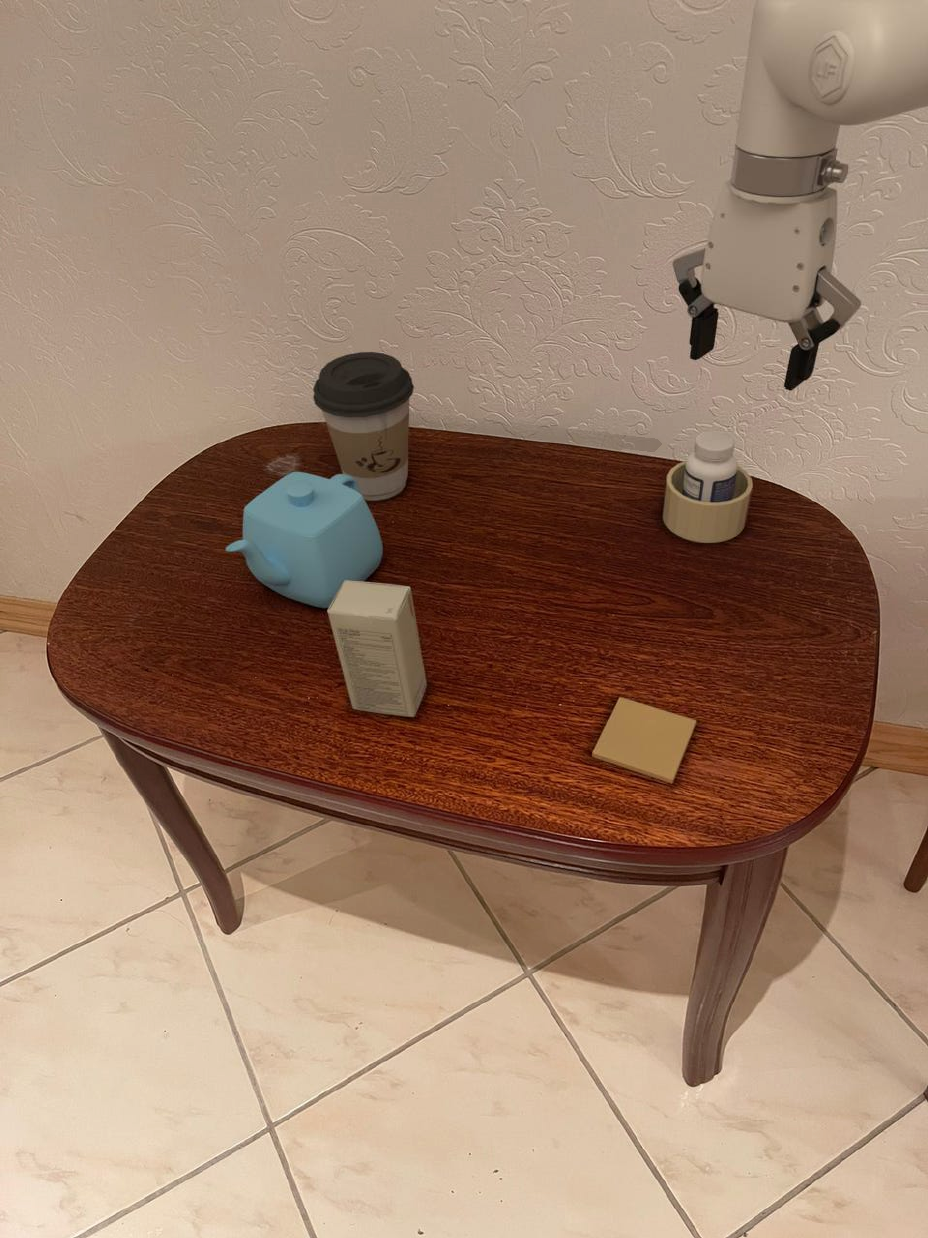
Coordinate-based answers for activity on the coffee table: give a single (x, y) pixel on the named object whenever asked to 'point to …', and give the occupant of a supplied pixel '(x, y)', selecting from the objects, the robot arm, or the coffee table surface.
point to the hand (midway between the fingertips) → (747, 368)
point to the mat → (645, 739)
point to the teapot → (310, 537)
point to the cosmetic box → (379, 647)
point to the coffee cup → (368, 419)
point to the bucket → (705, 510)
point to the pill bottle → (711, 468)
